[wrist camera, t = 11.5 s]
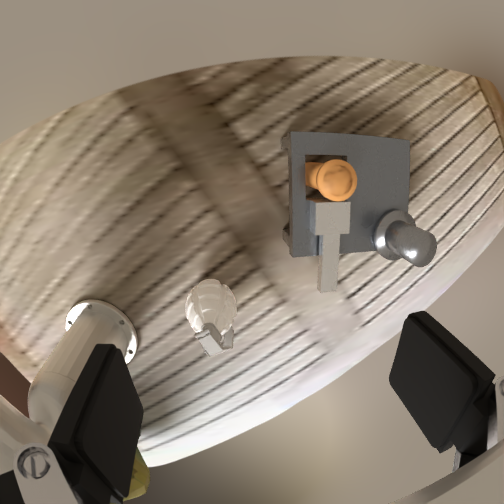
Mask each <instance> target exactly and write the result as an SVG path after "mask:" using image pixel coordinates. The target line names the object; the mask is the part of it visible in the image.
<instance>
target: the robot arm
mask: <svg viewBox="0 0 504 504" xmlns="http://www.w3.org/2000/svg"><path fill="white" fill-rule="evenodd" d="M66 331H67V332H66V333H65V335H64V336H63V337H62V339H61V340H60V342H59V343H58V344H57V346H56V347H55V349H54V350H53V352H52V353H51V355H50V356H49V358H48V359H47V360H46V362H45V363H44V365H43V367H42V368H41V370H40V371H39V373H38V374H37V376H36V377H35V379H34V381H33V382H32V384H31V386H30V389H29V394H28V410H29V416H30V419H29V418H27V417H26V416H24V415H23V414H22V413H21V412H20V411H18V410H17V409H16V408H15V407H13V406H12V405H11V404H10V403H9V402H8V401H7V400H6V399H5V398H4V397H2V396H1V395H0V504H110V503H115V504H123V498H127V497H128V495H129V490H130V484H131V477H132V471H133V465H134V460H135V454H136V449H137V443H138V438H139V433H140V428H141V423H142V418H143V407H142V404H141V402H140V399H139V397H138V394H137V392H136V389H135V387H134V384H133V382H132V379H131V376H130V373H129V371H128V368H127V365H126V364H127V363H129V362H130V361H131V360H132V359H133V357H134V355H135V353H136V350H137V346H138V338H137V334H136V331H135V329H134V327H133V325H132V323H131V322H130V320H129V319H128V318H127V317H126V316H125V314H124V313H123V312H121V311H120V310H119V309H118V308H116V307H114V306H113V305H111V304H109V303H106V302H104V301H100V300H92V299H89V300H83V301H81V302H79V303H77V304H76V305H75V306H73V308H72V309H71V310H70V311H69V313H68V315H67V318H66ZM494 377H495V374H494V373H493V372H492V371H491V370H490V369H489V368H488V367H487V366H486V365H485V364H484V363H483V362H482V361H481V360H480V359H479V358H477V357H476V356H475V355H474V354H473V353H472V352H471V351H470V350H469V349H468V348H467V347H466V346H464V345H463V344H462V343H461V342H460V341H459V340H458V339H457V338H456V337H455V336H453V335H452V334H451V333H450V332H449V331H448V330H447V329H446V328H444V327H443V326H442V325H441V324H440V323H439V322H438V321H436V320H435V319H434V318H433V317H432V316H430V315H429V314H428V313H427V312H425V311H419V312H415V313H411V314H409V315H408V317H407V319H405V321H404V324H403V328H402V333H401V337H400V341H399V345H398V348H397V352H396V356H395V359H394V362H393V366H392V369H391V372H390V375H389V382H390V385H391V386H392V388H393V389H394V391H395V392H396V394H397V395H398V396H399V398H400V399H401V401H402V402H403V404H404V405H405V407H406V408H407V410H408V411H409V413H410V414H411V416H412V417H413V418H414V420H415V421H416V423H417V424H418V426H419V427H420V429H421V430H422V432H423V434H424V435H425V436H426V438H427V440H428V441H429V443H430V444H431V446H433V447H434V448H437V450H438V451H439V453H442V452H444V451H446V450H448V449H449V448H451V447H452V446H453V444H454V445H455V447H456V453H455V459H454V466H453V470H452V473H451V474H449V475H447V476H446V477H444V478H442V479H440V480H439V481H437V482H435V483H433V484H431V485H429V486H427V487H425V488H423V489H421V490H419V491H417V492H415V493H412V494H410V495H408V496H406V497H404V498H401V499H399V500H397V501H394V502H392V503H389V504H504V376H502V377H500V378H499V379H498V380H497V381H496V383H495V385H494V384H493V383H492V381H493V379H494Z"/></svg>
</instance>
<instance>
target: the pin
mask: <svg viewBox="0 0 504 504" xmlns="http://www.w3.org/2000/svg"><path fill="white" fill-rule="evenodd" d="M305 176H306V186H309V187H312V188H315V189H317V190H319V191H320V193H321V194H322V195H323V196H324V197H326V198H328V199H330V200H332V201H344V200H346V199H348V198H349V197H350V196H351V195H352V194H353V193H354V191H355V189H356V186H357V175H356V172H355V170H354V168H353V167H352V166H351V165H350V164H349V163H348V162H346V161H343V160H336V159H335V160H329V161H327V162H325V163H316V162H306V163H305Z"/></svg>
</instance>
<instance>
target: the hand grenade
mask: <svg viewBox="0 0 504 504" xmlns="http://www.w3.org/2000/svg"><path fill="white" fill-rule="evenodd" d="M185 311H186V317H187V319H189V323H190V325H191V327H192V328H193V330H194V331H195V332H196V333H195V338H196V339H197V338H198V340H199V342H200V343H201V344H202V347H203V349H204V348H205V349H204V353H206V354H207V352H208V354H209V355H208V354H207V355H208V356H212V355H216V354H220V353H223V352H226V351H228V350H230V349H232V348H233V336H234V331H233V327H232V325H233V323H234V319H233V317H235V316H236V313H237V306H236V299H235V297H234V294H233V292H232V291H231V290H230V288H229V287H228V286H227V285H226V284H223V285H221V284H220V282H219V280H216V279H206V280H203V281H201V283H199V285H197V286H194V288H192V289H191V291H190V292H189V294H188V296H187V300H186V307H185ZM223 334H224V343H221V342H220V341H221V339H222V335H223ZM222 344H223V345H222Z"/></svg>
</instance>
